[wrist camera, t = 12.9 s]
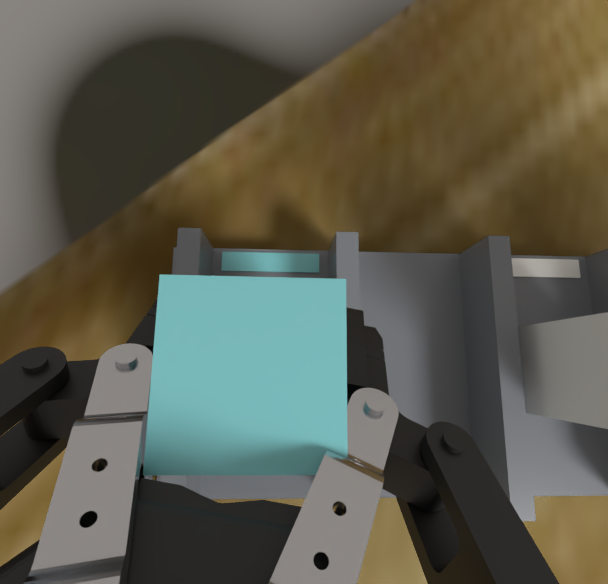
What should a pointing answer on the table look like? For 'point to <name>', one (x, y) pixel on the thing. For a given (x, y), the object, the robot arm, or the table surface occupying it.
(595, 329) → the white rectangular block
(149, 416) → the teal plug
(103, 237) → the table surface
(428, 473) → the robot arm
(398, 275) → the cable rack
